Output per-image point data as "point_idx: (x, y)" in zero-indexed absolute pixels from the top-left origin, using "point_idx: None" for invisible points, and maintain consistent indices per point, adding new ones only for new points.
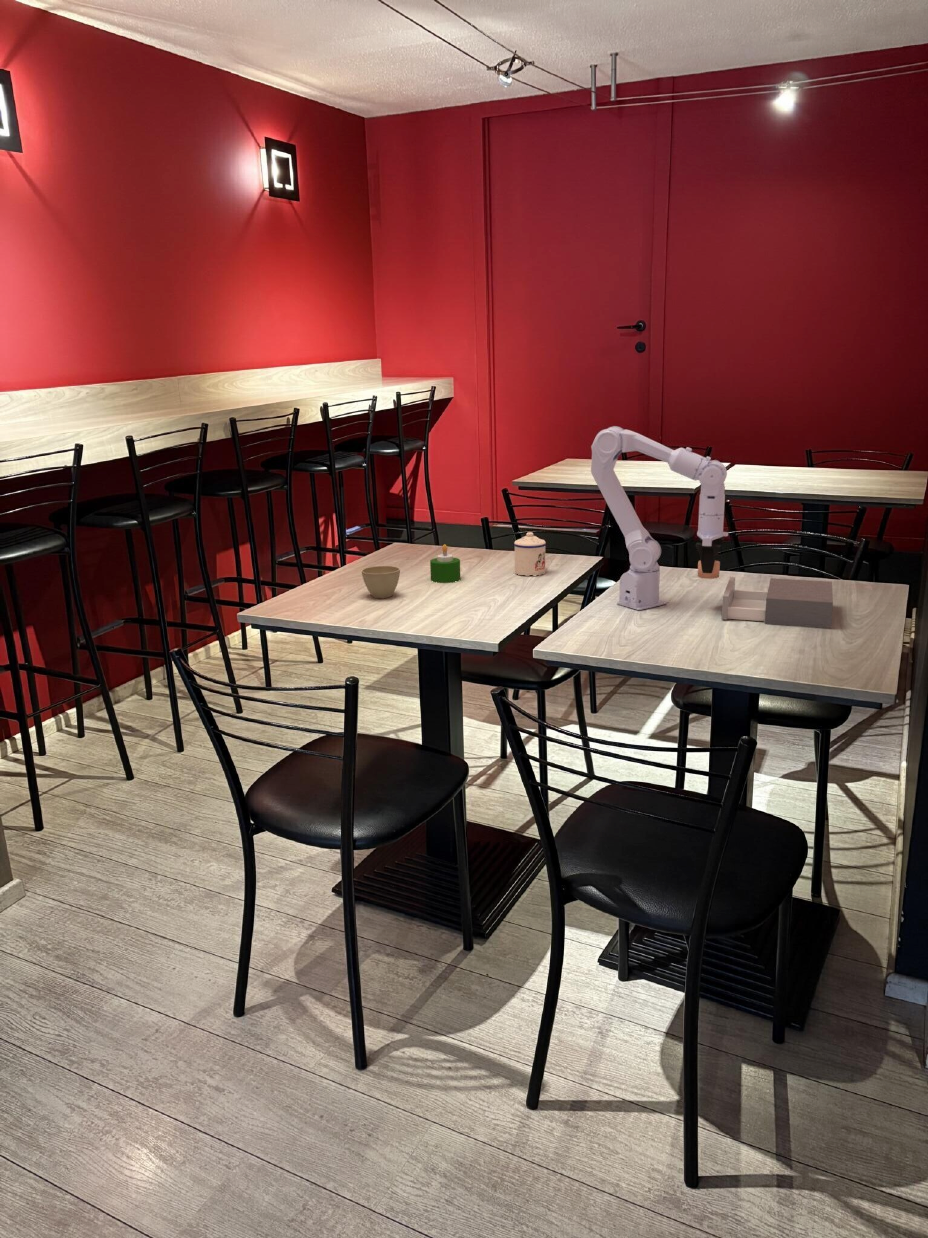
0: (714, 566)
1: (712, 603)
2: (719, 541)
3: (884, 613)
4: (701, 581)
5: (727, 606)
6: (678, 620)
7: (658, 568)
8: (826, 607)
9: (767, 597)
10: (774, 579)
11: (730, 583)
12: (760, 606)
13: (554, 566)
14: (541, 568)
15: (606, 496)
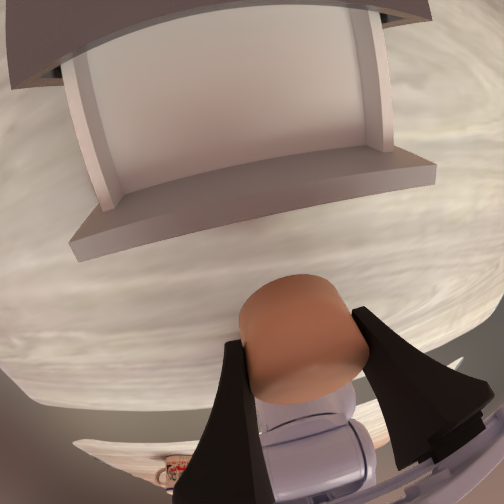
0: (356, 329)
1: (187, 241)
2: (260, 492)
3: None
4: (20, 328)
5: (412, 153)
6: (397, 254)
7: (315, 420)
8: None
9: (421, 13)
10: (26, 59)
11: (203, 216)
12: (191, 62)
13: (136, 454)
14: (186, 462)
15: None
